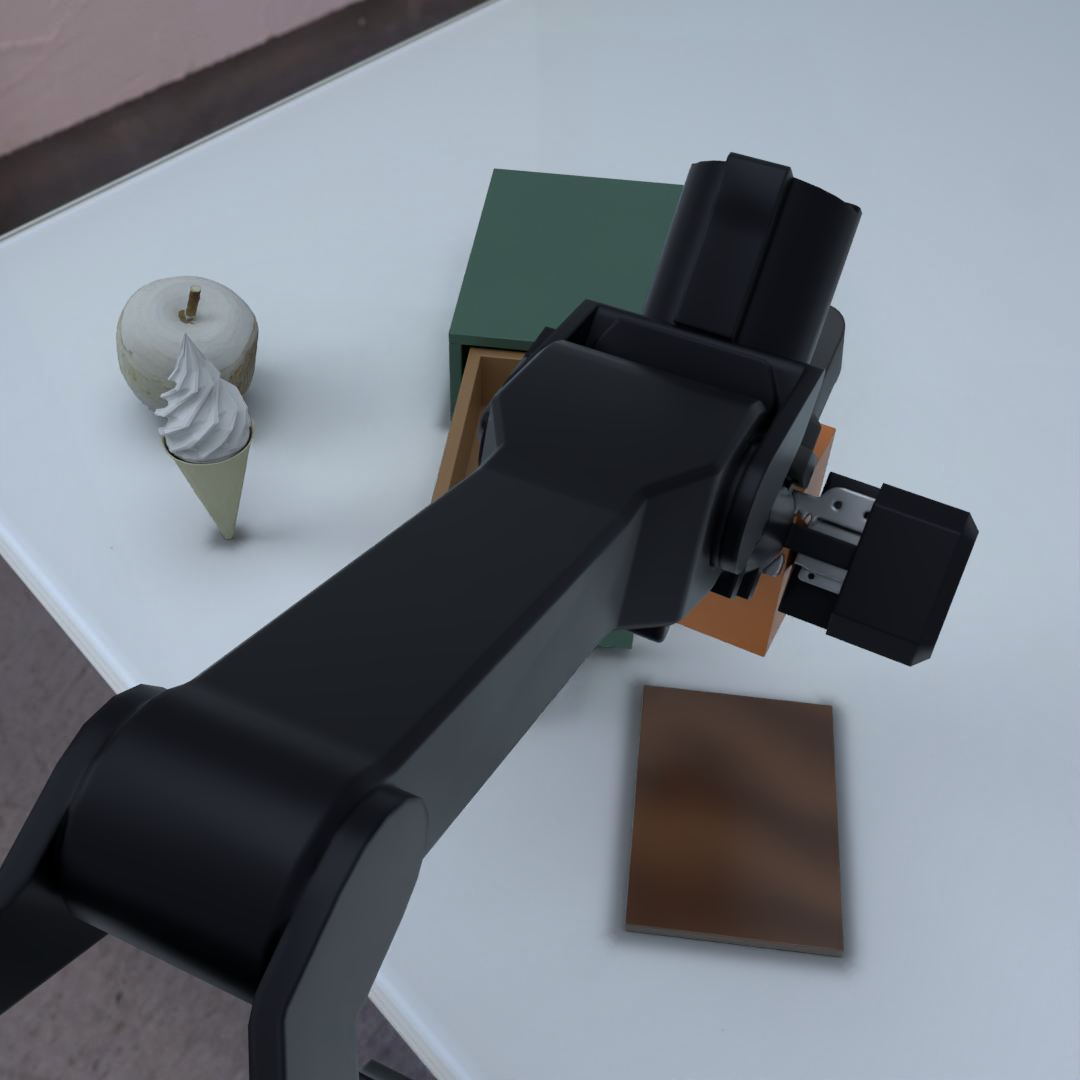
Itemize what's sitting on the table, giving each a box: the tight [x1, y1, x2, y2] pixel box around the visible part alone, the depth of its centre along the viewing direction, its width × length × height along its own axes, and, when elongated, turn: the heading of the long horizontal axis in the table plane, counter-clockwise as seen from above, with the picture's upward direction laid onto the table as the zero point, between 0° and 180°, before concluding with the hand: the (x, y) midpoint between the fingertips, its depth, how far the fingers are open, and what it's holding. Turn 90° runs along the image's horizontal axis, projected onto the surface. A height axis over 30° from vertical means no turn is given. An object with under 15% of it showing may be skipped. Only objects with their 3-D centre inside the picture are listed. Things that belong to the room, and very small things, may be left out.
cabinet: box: [447, 167, 684, 422], centre depth 89 cm, size 20×14×7 cm
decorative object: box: [115, 275, 260, 419], centre depth 82 cm, size 9×9×10 cm
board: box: [623, 684, 845, 958], centre depth 65 cm, size 14×10×1 cm
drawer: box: [430, 347, 635, 650], centre depth 74 cm, size 23×12×5 cm, turn 173°
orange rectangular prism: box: [677, 422, 837, 658], centre depth 59 cm, size 4×5×11 cm
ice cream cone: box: [154, 333, 256, 540], centre depth 72 cm, size 5×5×15 cm
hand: (754, 525), depth 60 cm, fingers closed on orange rectangular prism, 5 cm apart
